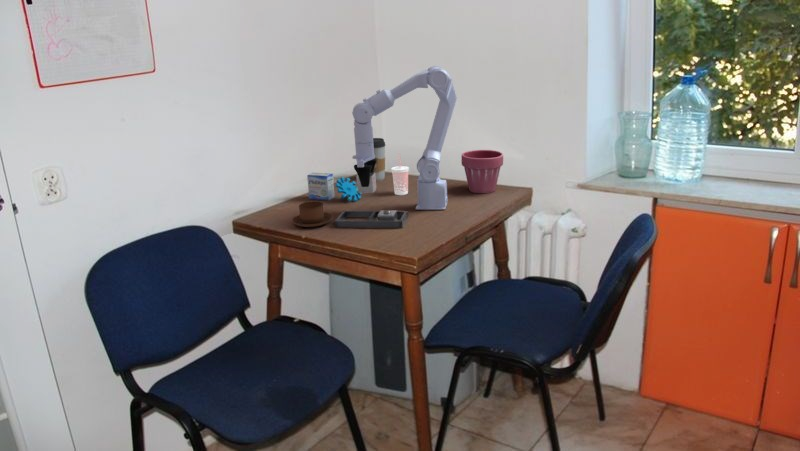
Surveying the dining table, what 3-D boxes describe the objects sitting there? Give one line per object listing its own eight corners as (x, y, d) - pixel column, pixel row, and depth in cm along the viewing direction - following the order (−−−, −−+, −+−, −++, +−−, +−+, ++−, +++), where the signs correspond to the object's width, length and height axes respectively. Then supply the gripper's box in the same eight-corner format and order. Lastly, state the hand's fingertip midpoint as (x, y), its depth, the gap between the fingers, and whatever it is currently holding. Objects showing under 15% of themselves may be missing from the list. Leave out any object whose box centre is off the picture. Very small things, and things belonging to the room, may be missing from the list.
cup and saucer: (285, 225, 208) (283, 206, 206) (316, 215, 216) (314, 197, 214) (309, 232, 200) (307, 213, 198) (340, 222, 208) (338, 203, 206)
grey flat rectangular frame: (407, 217, 209) (407, 210, 208) (402, 228, 199) (401, 221, 198) (343, 216, 213) (343, 210, 212) (335, 227, 203) (334, 221, 202)
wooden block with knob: (397, 219, 207) (396, 208, 206) (394, 224, 202) (393, 213, 201) (381, 219, 208) (380, 208, 207) (378, 224, 203) (377, 213, 202)
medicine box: (308, 199, 234) (306, 175, 232) (315, 195, 238) (312, 171, 235) (329, 200, 231) (326, 176, 229) (335, 197, 235) (332, 172, 233)
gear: (346, 200, 224) (332, 177, 227) (337, 211, 227) (324, 187, 230) (369, 197, 232) (356, 174, 235) (361, 207, 236) (347, 184, 239)
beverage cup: (410, 195, 233) (408, 155, 228) (392, 195, 233) (390, 156, 228) (410, 190, 238) (408, 151, 234) (392, 191, 239) (390, 152, 234)
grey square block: (376, 188, 217) (375, 171, 215) (373, 192, 212) (371, 174, 211) (361, 188, 218) (359, 171, 216) (357, 193, 213) (356, 175, 211)
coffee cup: (363, 181, 253) (360, 142, 249) (368, 176, 261) (365, 137, 256) (385, 181, 252) (382, 141, 247) (389, 176, 260) (387, 137, 255)
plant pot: (511, 188, 234) (511, 152, 230) (485, 197, 225) (484, 160, 221) (480, 182, 244) (480, 147, 240) (453, 190, 235) (452, 154, 231)
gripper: (357, 137, 218) (360, 178, 222) (346, 147, 204) (349, 190, 208) (378, 137, 216) (381, 178, 221) (368, 146, 203) (371, 190, 207)
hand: (367, 184), depth 214 cm, fingers closed on grey square block, 5 cm apart
